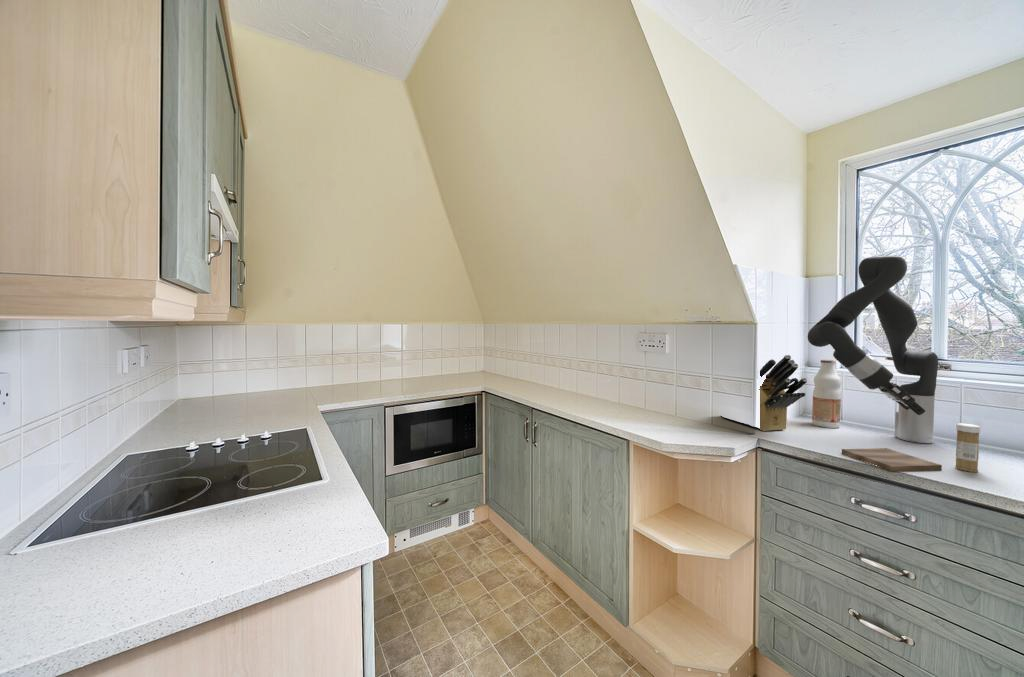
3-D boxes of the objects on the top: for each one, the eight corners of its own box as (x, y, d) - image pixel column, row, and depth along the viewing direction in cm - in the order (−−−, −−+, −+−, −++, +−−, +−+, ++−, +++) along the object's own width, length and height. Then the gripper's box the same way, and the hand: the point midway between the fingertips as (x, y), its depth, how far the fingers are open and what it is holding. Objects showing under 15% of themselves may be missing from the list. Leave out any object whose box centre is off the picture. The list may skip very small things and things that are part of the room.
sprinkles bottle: (979, 470, 116) (981, 425, 116) (976, 473, 114) (978, 427, 113) (956, 465, 120) (958, 422, 120) (953, 468, 118) (955, 423, 117)
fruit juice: (817, 427, 165) (820, 360, 164) (807, 422, 174) (809, 358, 173) (844, 429, 162) (847, 361, 161) (833, 423, 171) (835, 359, 170)
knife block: (783, 438, 148) (786, 356, 147) (716, 417, 182) (718, 350, 181) (808, 437, 150) (811, 356, 149) (737, 416, 185) (739, 350, 184)
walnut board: (841, 453, 131) (841, 449, 131) (886, 452, 132) (886, 448, 132) (891, 471, 115) (891, 466, 115) (941, 470, 116) (941, 465, 116)
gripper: (888, 365, 119) (939, 407, 114) (872, 361, 132) (917, 399, 127) (865, 381, 122) (913, 423, 117) (851, 376, 134) (894, 413, 129)
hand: (915, 410), depth 122 cm, fingers open, 8 cm apart
